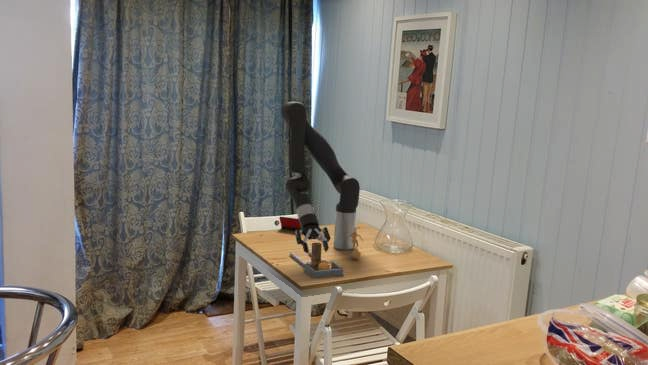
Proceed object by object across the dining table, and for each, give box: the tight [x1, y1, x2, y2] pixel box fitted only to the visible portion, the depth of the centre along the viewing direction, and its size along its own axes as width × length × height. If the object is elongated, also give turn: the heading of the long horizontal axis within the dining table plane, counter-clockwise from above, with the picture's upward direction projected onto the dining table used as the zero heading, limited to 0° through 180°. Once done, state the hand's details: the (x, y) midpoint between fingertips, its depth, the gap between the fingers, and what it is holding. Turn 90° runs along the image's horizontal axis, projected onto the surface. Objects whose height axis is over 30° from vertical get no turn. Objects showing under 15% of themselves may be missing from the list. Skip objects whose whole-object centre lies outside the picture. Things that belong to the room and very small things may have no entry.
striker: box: [306, 241, 329, 271], centre depth 230 cm, size 6×8×10 cm
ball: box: [318, 261, 330, 271], centre depth 225 cm, size 4×4×4 cm
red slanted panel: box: [279, 216, 302, 232], centre depth 289 cm, size 12×11×7 cm
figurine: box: [347, 231, 364, 261], centre depth 245 cm, size 8×6×12 cm
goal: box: [303, 260, 344, 279], centre depth 225 cm, size 13×8×3 cm, turn 114°
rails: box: [289, 250, 330, 268], centre depth 238 cm, size 10×20×2 cm, turn 24°
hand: (317, 251), depth 231 cm, fingers open, 8 cm apart
